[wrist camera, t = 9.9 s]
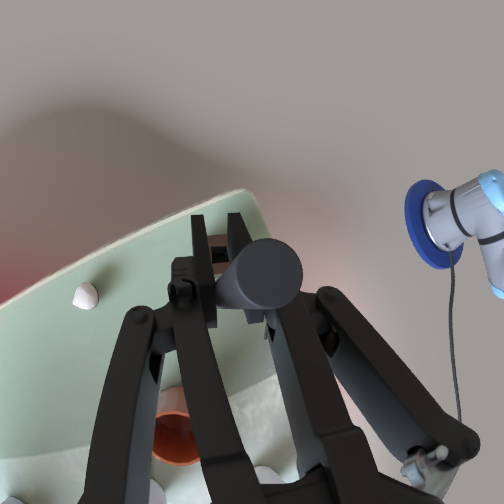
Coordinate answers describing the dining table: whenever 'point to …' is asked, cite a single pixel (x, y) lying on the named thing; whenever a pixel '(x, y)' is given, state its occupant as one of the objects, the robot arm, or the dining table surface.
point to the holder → (215, 246)
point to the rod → (260, 277)
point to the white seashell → (86, 296)
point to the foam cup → (267, 476)
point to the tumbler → (174, 430)
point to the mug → (156, 493)
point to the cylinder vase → (12, 501)
